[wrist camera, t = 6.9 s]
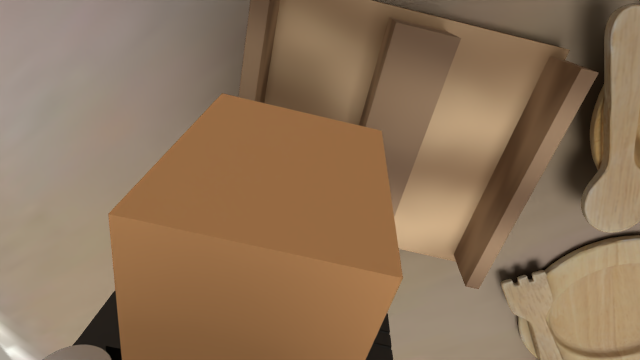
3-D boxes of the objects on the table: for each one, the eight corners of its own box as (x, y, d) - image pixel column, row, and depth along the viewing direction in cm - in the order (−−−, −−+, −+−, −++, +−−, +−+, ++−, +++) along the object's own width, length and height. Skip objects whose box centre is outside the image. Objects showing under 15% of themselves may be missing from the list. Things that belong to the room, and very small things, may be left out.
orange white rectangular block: (222, 93, 8) (108, 213, 5) (381, 130, 9) (402, 278, 5) (201, 345, 13) (136, 510, 9) (305, 366, 13) (283, 538, 9)
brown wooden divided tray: (271, -26, 20) (253, -27, 16) (560, 47, 20) (605, 61, 17) (238, 204, 26) (220, 239, 22) (458, 253, 27) (475, 295, 23)
